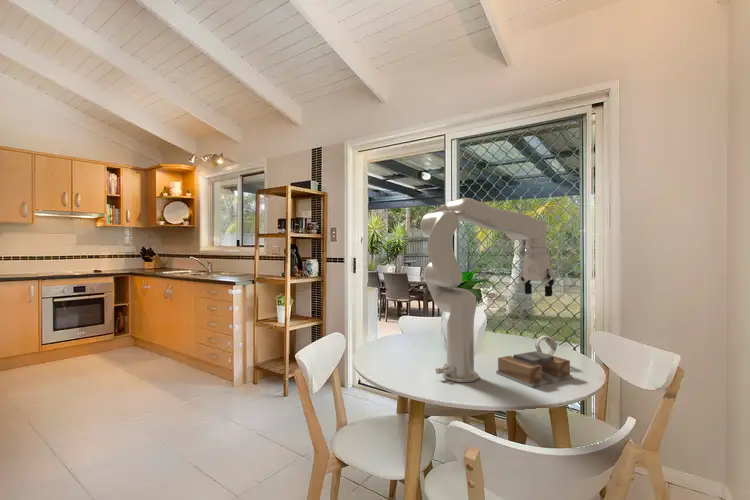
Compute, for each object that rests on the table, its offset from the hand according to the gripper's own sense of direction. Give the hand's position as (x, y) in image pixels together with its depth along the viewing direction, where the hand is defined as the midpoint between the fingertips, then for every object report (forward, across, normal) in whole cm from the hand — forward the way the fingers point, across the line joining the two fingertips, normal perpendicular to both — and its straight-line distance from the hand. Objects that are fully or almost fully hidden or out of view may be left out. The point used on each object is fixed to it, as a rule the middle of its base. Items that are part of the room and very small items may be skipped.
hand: (538, 294), depth 147 cm
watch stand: (+27, +9, -14) cm, 32 cm away
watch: (+28, +1, +2) cm, 28 cm away
